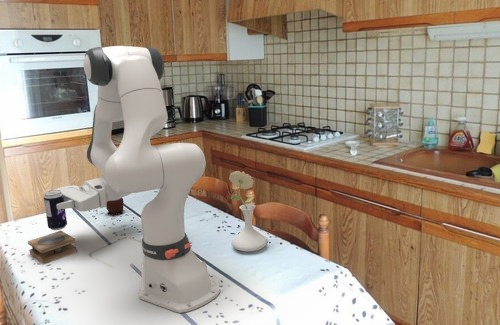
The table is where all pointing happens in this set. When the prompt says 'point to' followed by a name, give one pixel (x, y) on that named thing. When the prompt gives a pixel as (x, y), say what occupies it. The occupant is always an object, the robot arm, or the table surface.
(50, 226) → the beverage can
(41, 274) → the table surface
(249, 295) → the table surface
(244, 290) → the table surface
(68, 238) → the levelling stand
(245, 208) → the flower in vase
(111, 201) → the mate gourd
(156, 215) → the robot arm
